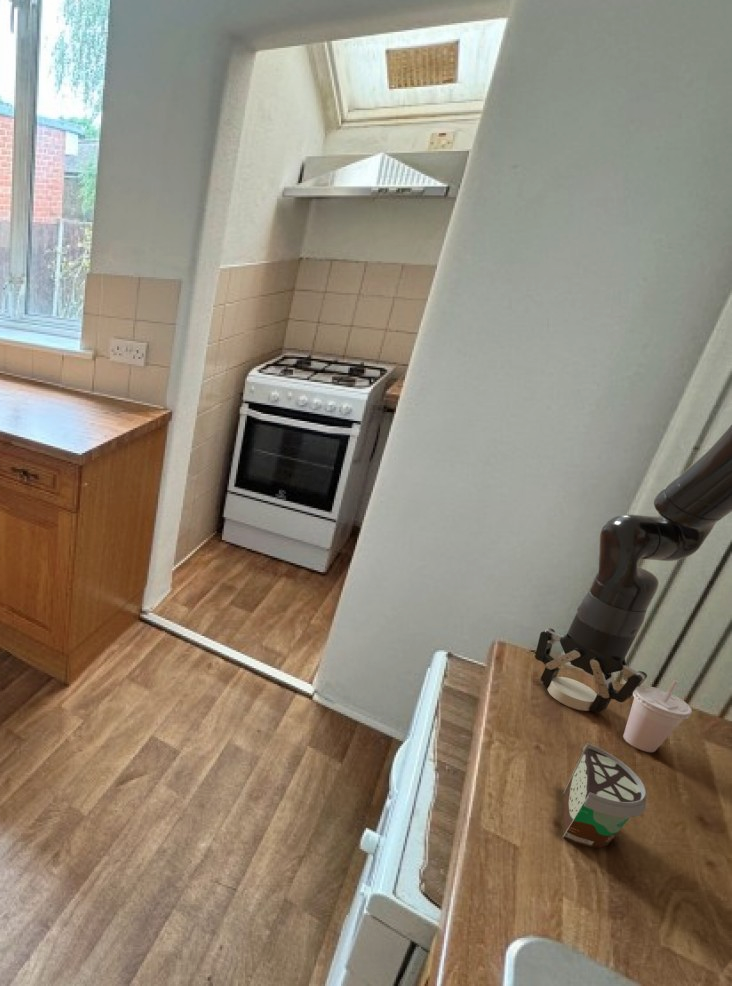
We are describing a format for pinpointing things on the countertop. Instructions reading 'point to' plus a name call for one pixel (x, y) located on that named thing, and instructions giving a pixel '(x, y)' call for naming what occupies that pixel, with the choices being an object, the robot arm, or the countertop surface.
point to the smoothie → (654, 716)
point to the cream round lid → (572, 693)
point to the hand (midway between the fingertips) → (570, 696)
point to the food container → (600, 798)
